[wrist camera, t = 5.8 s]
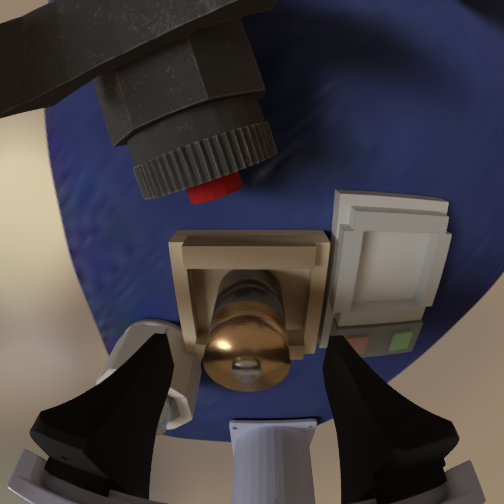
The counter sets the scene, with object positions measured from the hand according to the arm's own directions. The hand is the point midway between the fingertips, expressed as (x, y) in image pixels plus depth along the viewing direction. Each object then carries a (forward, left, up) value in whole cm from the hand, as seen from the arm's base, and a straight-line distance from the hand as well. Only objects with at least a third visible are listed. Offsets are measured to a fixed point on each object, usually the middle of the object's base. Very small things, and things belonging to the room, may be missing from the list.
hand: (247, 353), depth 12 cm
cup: (-5, +7, -5) cm, 10 cm away
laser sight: (+17, +5, -6) cm, 19 cm away
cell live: (0, 0, -5) cm, 5 cm away
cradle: (+2, -8, -5) cm, 10 cm away
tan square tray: (0, 0, -5) cm, 5 cm away
